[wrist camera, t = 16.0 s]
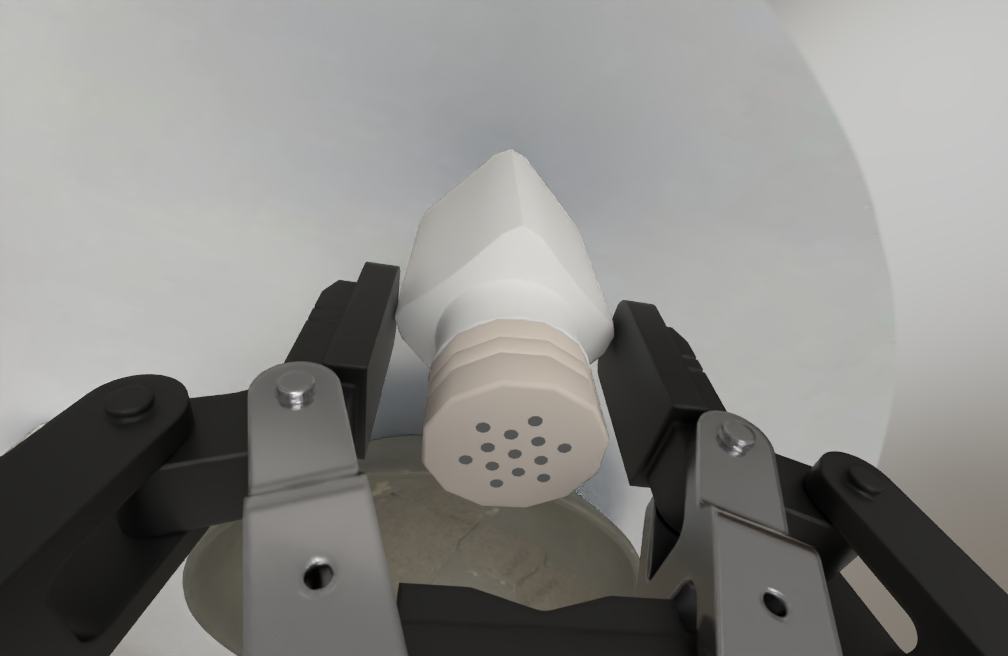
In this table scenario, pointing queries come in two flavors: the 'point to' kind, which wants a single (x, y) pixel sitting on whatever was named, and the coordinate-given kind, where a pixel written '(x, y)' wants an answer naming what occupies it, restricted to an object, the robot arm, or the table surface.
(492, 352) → the pepper shaker
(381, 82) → the table surface
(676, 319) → the table surface
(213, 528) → the bowl
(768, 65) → the table surface
